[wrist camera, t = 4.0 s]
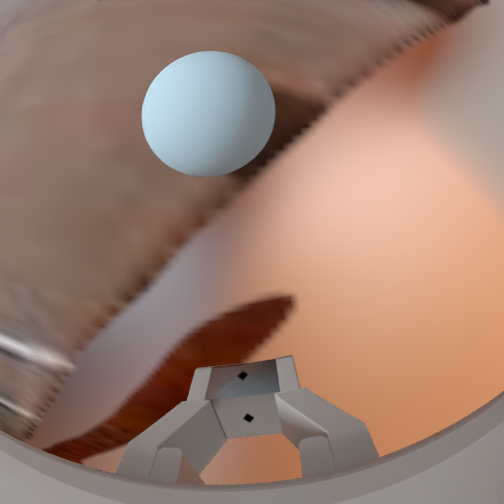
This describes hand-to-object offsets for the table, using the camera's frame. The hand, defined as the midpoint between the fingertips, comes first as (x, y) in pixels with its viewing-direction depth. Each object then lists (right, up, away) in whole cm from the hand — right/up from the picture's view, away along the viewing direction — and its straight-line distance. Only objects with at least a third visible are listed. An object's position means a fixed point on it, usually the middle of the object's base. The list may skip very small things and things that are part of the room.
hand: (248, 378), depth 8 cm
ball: (-2, +10, +3) cm, 11 cm away
